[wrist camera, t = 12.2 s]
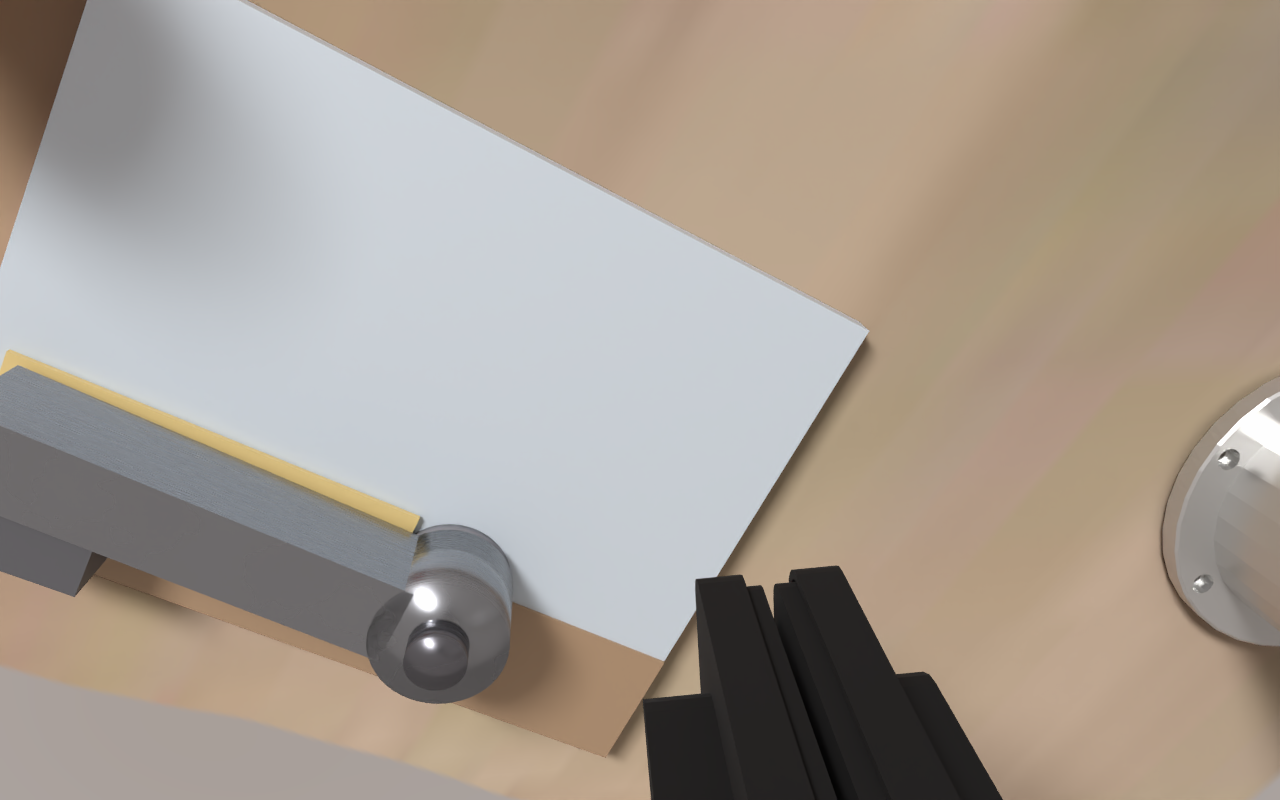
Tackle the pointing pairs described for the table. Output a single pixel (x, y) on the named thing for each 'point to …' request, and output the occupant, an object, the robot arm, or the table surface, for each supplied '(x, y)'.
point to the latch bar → (255, 539)
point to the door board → (406, 336)
